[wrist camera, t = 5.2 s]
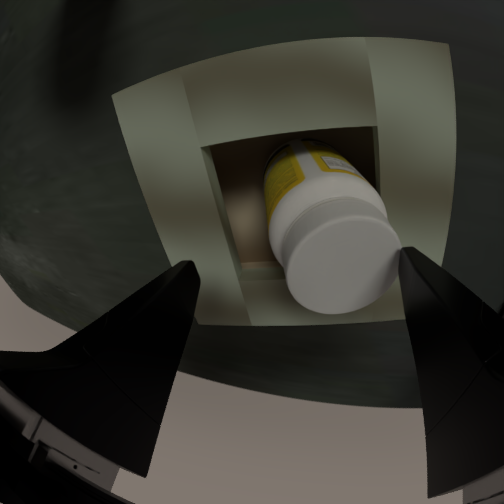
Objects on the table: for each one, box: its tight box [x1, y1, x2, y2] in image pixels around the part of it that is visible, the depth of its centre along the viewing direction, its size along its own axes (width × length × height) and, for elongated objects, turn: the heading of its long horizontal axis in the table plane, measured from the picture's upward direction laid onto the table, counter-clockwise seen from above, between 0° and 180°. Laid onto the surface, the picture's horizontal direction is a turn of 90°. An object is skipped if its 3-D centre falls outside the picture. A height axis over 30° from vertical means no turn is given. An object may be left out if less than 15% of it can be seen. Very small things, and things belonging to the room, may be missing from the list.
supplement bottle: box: [263, 138, 402, 314], centre depth 12 cm, size 5×5×8 cm
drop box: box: [112, 37, 456, 326], centre depth 14 cm, size 14×14×6 cm
